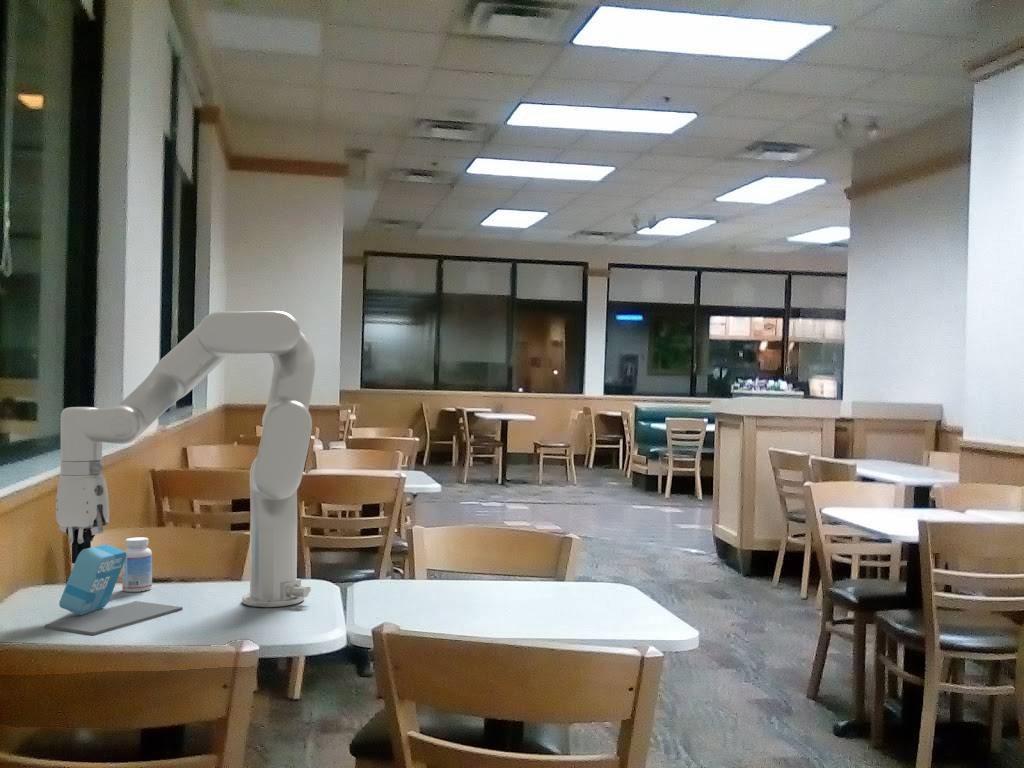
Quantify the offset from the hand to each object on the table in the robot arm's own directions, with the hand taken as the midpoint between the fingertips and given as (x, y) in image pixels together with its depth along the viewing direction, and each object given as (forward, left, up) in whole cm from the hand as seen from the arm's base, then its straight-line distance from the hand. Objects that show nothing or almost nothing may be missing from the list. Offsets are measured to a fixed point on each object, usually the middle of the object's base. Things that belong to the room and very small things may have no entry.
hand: (81, 562), depth 191 cm
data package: (0, 0, -9) cm, 9 cm away
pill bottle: (+7, -21, -10) cm, 24 cm away
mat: (-9, 0, -10) cm, 14 cm away
